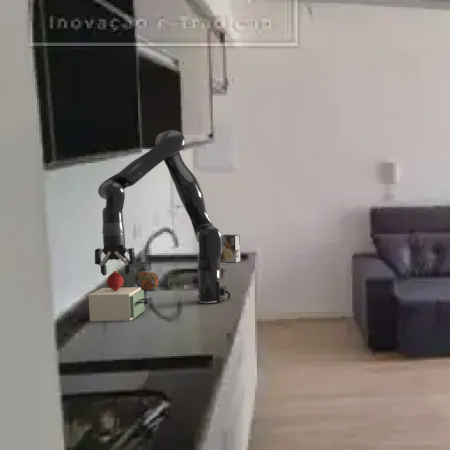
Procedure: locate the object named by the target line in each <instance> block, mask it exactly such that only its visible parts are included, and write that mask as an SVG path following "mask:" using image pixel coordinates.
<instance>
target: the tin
mask: <svg viewBox="0 0 450 450" xmlns="http://www.w3.org/2000/svg"><path fill="white" fill-rule="evenodd" d="M135 284H136V287H141V290H144V291H145V290H146V291H153V290H154V291H155V290H156V289H157V288H158V287H159V276H158V274H157V273H156V272H154V271H146V270H140V271H138V272H137V273H136V275H135Z"/></svg>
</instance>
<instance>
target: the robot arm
mask: <svg viewBox="0 0 450 450" xmlns="http://www.w3.org/2000/svg"><path fill="white" fill-rule="evenodd" d="M185 145H186V139H185V136H184V134H183V133H181V132H180V131H179V130H173V129H170V130H167V131H162V132H160V133H159V134H157V136H156V137H155V146H153V147H152V148H151V149H150V150H148V151H146V152H145V153H144V154H142V155H140V156H139V157H137V158H136V159H134V160H133V161H130V163H129V164H127V165H126V166H124V167H123V168H122V169H121V170H120V171H118V172H117V173H115V174H114V175H112V176H111V177H109V178H107V179H106V180H104V181H103V182H101V183H100V185H99V186H98V189H97V193H98V195H99V197H100V198H101V199H103V200H105V201H106V202H105V207H103V208H102V212H101V213H102V214H101V215H102V232H101V233H102V242H103V243H102V244H103V248H100V247H99V248H95V249H94V264H95V265H99V266H100V274H102V276H106V275H107V274H108V271H107V265H106V264H107V263H108V262H109V261H112V260H115V261H119V260H120V261H121V262H123V264H124V265H125V266H124V273H125V275H126V276H128V275H130V274H131V272H132V266H131V265H133V264H135V263H136V253H135V248H134V247H130V248H127V247H126V238H125V237H126V235H125V225H124V213H123V212H124V211H123V209H124V205H125V197H126V192H125V189H127V188H129V187H132V186H134V185H135V184H137V183H138V182H139V181H140V180H142V178H144V177H145V176H146V175H148V174H149V173H150V172H151V171H152V170H153V169H155V168H156V167H157V166H159V164H161V163H162V162H164V164H165V165H166V167H167V170H168V171H169V172H168V173H169V174H170V177H171V180H172V182H173V184H174V187H175V189H176V192H177V194H178V197H179V199H180V202H181V203H182V206H183V208H184V210H185V211H186V214H187V215H188V217H189V220H190V222H191V225H192V229H193V232H194V237H195V239H196V241H197V242H198V256H197V274H198V275H197V276H198V295H197V298H198V303H200V304H205V305H206V304H208V305H209V304H210V305H211V304H219V303H221V302H222V301H223V299H224V296H226V295H227V298H226V299H228V300H230V298H231V292H229V290H228V286H227V285H223V278H222V268H221V259H222V239H221V236H222V234H221V231H220V230H219V228H218V227H215V226H214V225H213V223H212V221H211V219H210V217H209V215H208V212H207V207H206V203H205V198H204V194H203V191H202V188H201V186H200V183H199V181H198V179H197V177H196V176H195V175H194V173H193V172H192V171H191V170H190V168H189V167H188V166H187V165H186V163H185V161H184V160H183V158H182V155H181V151H182V150H183V149H184V147H185ZM126 253H127V254H128V256H129V258H128V256H127V255H126ZM102 254H104V256H103V258H102V259H101V257H102Z"/></svg>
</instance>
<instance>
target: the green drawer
mask: <svg viewBox="0 0 450 450" xmlns="http://www.w3.org/2000/svg"><path fill="white" fill-rule="evenodd" d="M153 299H154V298H153V297H152V296H151V297H148V298H145V289H141V290H140V291H138V292H137V293H134V294H133V295H131V296H130V310H131V318H133V319H135V318H136V317H137V315H138V316H139V315H140V314H142V313H143V312H144V311H145V305H148V304H149V303H150V302H152V301H153ZM134 317H135V318H134Z"/></svg>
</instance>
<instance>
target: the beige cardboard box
mask: <svg viewBox="0 0 450 450" xmlns="http://www.w3.org/2000/svg"><path fill="white" fill-rule="evenodd" d="M140 290H142V289H141V287H138V286H136V287H132V286H131V287H130V286H129V287H120V288H119V289H118V290H117V291H114V290H112V289H111V288H109V287H101V288H99V289H97V290H96V291H93V292H91V293H89V294H88V311H89V322H127V321H129V322H130V321H132V320H133V319H135V318H136V317H137V316H139V315H137V316H136V317H134V318H131V310H130V296H131V295H133V294H134V293H137V292H138V291H140Z"/></svg>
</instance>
